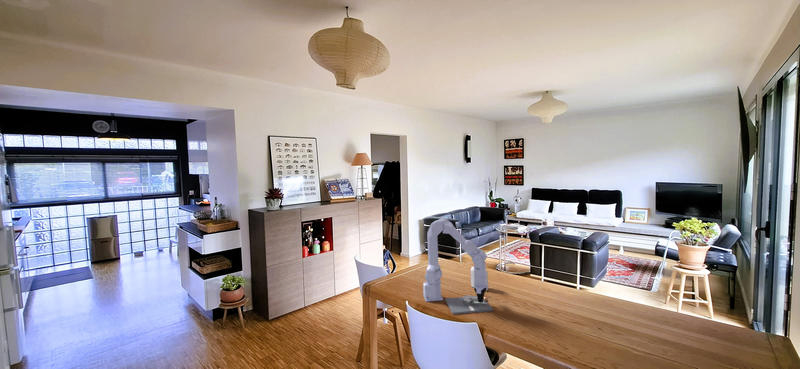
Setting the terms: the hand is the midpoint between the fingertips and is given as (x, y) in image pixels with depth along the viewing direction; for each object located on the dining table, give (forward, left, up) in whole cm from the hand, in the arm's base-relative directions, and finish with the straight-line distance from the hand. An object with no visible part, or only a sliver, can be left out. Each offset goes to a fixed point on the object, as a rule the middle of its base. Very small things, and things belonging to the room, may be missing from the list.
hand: (480, 302), depth 158 cm
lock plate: (-6, +3, -3) cm, 7 cm away
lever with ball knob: (-2, +2, 0) cm, 3 cm away
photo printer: (+7, +23, -3) cm, 24 cm away
